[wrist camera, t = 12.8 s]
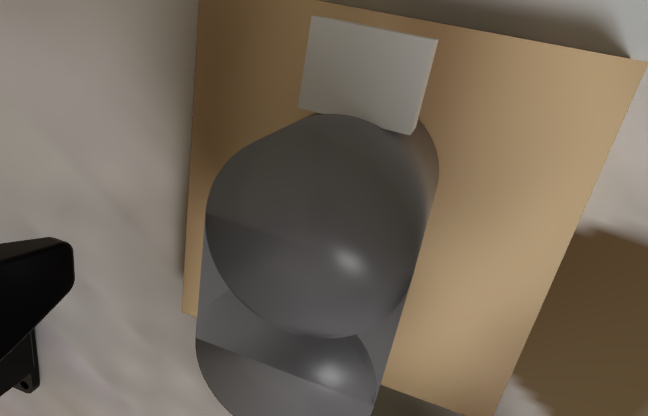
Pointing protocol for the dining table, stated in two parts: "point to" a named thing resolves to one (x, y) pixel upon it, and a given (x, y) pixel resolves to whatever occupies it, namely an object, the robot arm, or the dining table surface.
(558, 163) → the oak board
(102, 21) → the dining table surface
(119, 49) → the dining table surface
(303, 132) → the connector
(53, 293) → the robot arm
